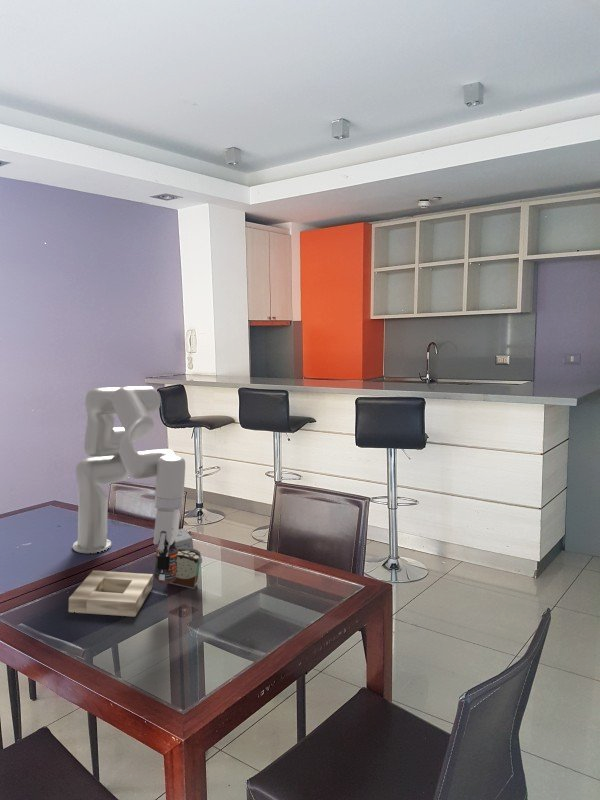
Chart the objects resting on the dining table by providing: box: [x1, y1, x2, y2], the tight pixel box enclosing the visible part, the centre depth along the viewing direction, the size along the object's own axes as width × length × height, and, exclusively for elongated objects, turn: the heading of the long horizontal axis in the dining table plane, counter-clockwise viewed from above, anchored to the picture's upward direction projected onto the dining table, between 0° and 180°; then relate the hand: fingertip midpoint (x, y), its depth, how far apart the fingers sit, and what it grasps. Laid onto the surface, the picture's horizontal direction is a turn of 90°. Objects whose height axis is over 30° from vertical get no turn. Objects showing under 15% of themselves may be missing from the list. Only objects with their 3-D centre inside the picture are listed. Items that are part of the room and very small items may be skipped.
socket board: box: [68, 569, 154, 617], centre depth 167 cm, size 18×18×4 cm
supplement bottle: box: [153, 540, 178, 584], centre depth 161 cm, size 6×6×11 cm
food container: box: [169, 547, 203, 590], centre depth 180 cm, size 12×6×10 cm, turn 71°
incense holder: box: [175, 528, 194, 549], centre depth 193 cm, size 10×8×10 cm
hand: (166, 563), depth 162 cm, fingers closed on supplement bottle, 6 cm apart
